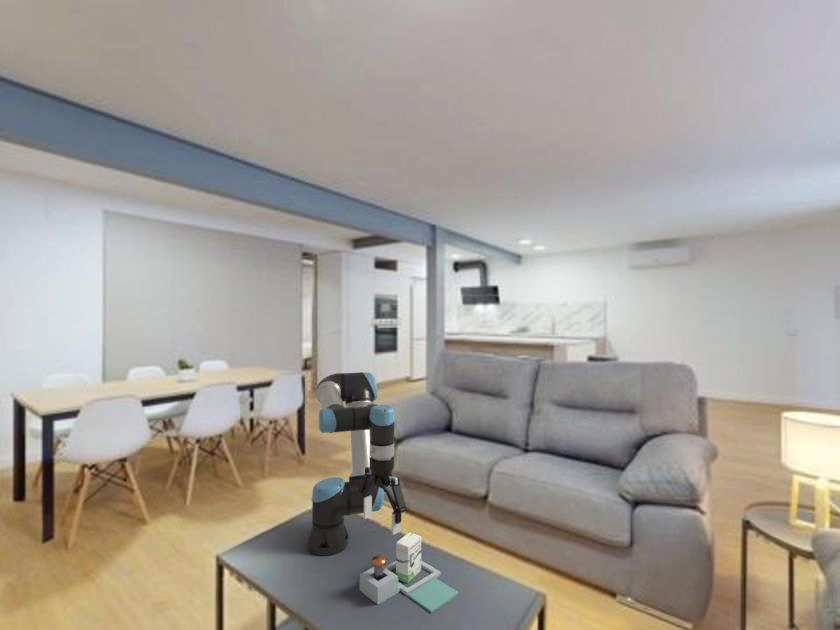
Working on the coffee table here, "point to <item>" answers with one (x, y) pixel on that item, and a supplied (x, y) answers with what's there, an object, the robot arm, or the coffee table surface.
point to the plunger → (379, 566)
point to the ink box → (408, 557)
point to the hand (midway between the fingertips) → (381, 524)
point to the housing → (391, 583)
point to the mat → (433, 595)
